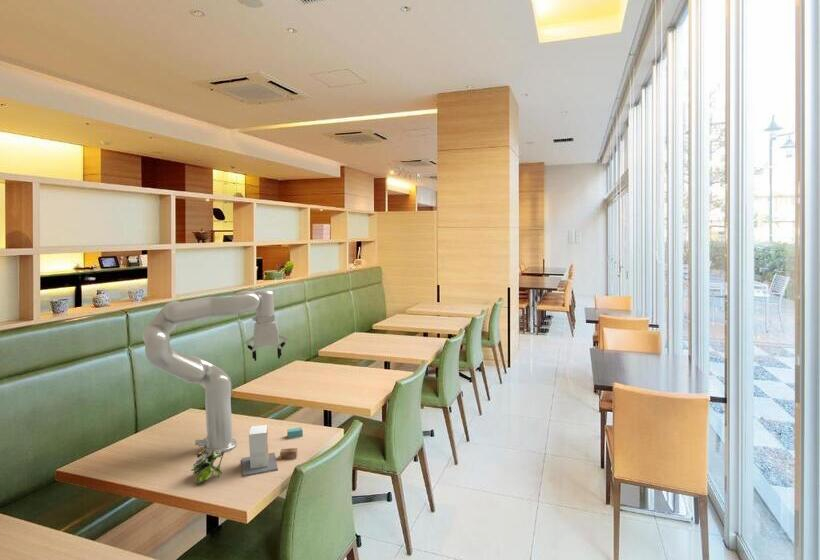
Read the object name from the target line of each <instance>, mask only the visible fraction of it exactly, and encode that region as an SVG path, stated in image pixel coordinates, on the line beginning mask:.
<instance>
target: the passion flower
mask: <svg viewBox="0 0 820 560" xmlns="http://www.w3.org/2000/svg"><path fill="white" fill-rule="evenodd" d="M206 451H207V449H206V450H204V449H203V450H201V451H200V452H198V453H196V458H197V460H195V462H194V463H193V467H192V468H191V469H190V471H191V472H192V474H193V475H196V476H195V484H196V485H198V484H200V483H202V482H203V481H204V482H205V481H207V480H208V479H210V477H211V476H213V472H215V473H216V474H217V475H218V477H220V475H223V471H222V470H221V463H222V459H223V457H224V453H225V452H223V450H222V451H220V452H219V453H216V451H215V450H212V451H211V452H209V453H207V452H206ZM221 452H222V453H221ZM205 453H206V454H205ZM217 458H220V461H219V463H218V465H217V466H214V462H215V461H217V460H216V459H217Z"/></svg>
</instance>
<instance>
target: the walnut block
mask: <svg viewBox="0 0 820 560" xmlns="http://www.w3.org/2000/svg"><path fill="white" fill-rule="evenodd" d="M279 454H280V455H279V457H280V460H294V459H297V458H298V448H297V447H295V448H291V447H290V448H281V449H280V452H279Z"/></svg>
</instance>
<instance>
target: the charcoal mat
mask: <svg viewBox="0 0 820 560" xmlns="http://www.w3.org/2000/svg"><path fill="white" fill-rule="evenodd" d="M275 454H276V453H275V452H268V455H269V457H268V466H267V467H260V468H252V469H251V468H250V456H246V457H241V460H242V461H241V463H242V464H241V465H242V477H249V476H254V475H259V473H260V474H264V472H265V473H269V471H271V472H274V471H273V470H276V471H278V470H279V468H278V463H277V459H276V455H275Z"/></svg>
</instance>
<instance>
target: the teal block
mask: <svg viewBox="0 0 820 560" xmlns="http://www.w3.org/2000/svg"><path fill="white" fill-rule="evenodd" d="M303 431H304V430H303V428H302V427H295V428H289V429H287V439H289V438H290V439H297V438H300V437H304V436H303V435H304V434H303Z"/></svg>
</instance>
